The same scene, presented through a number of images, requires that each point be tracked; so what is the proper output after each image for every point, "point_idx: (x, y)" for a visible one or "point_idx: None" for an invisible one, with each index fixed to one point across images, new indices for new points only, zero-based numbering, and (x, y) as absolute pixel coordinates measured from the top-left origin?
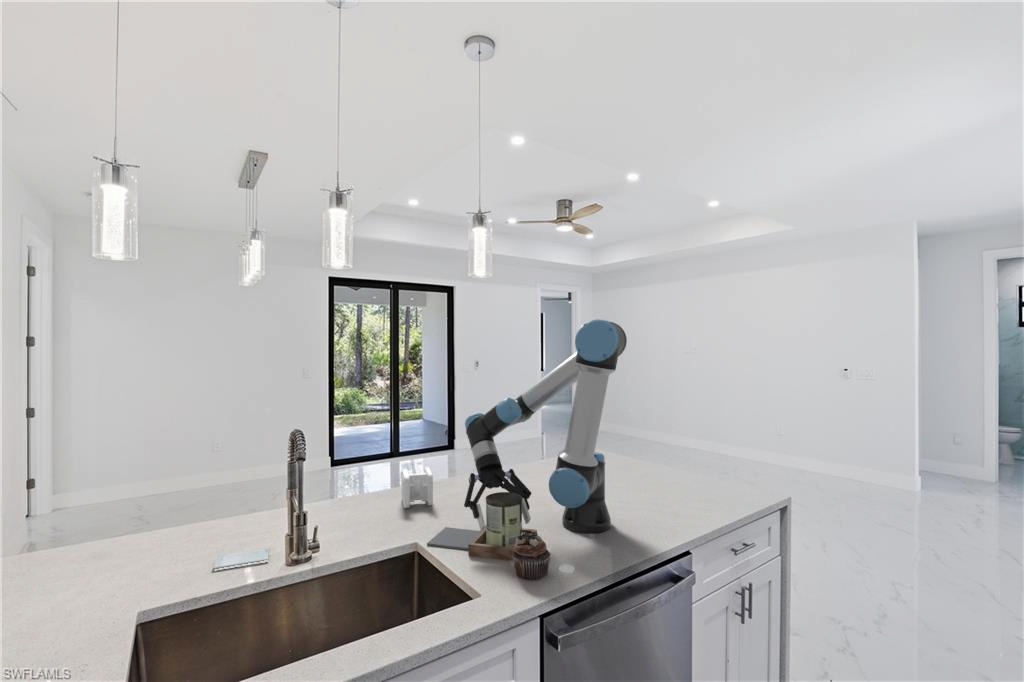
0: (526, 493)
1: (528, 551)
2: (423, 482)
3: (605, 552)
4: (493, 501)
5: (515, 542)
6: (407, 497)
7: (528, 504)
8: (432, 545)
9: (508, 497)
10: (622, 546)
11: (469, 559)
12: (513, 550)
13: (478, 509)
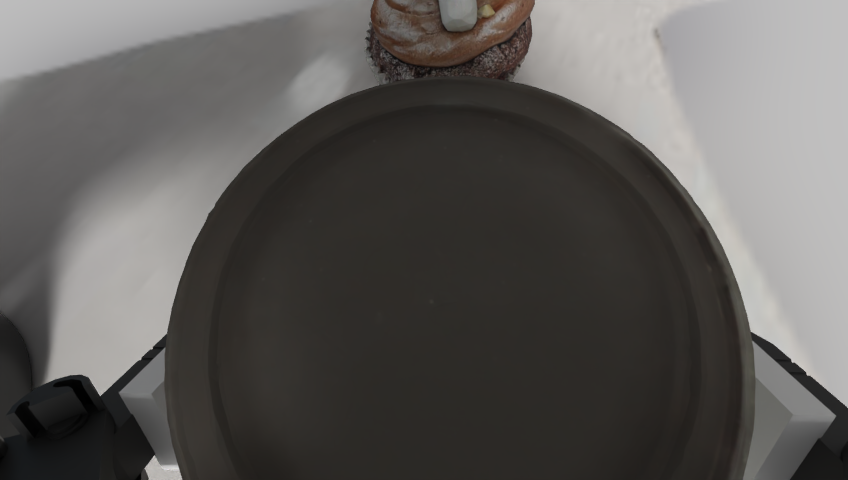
0: (15, 412)
1: None
2: None
3: (120, 133)
4: (653, 193)
5: (519, 2)
6: None
7: (151, 351)
8: None
9: (375, 286)
10: (29, 152)
11: None
12: (525, 30)
13: (767, 360)
